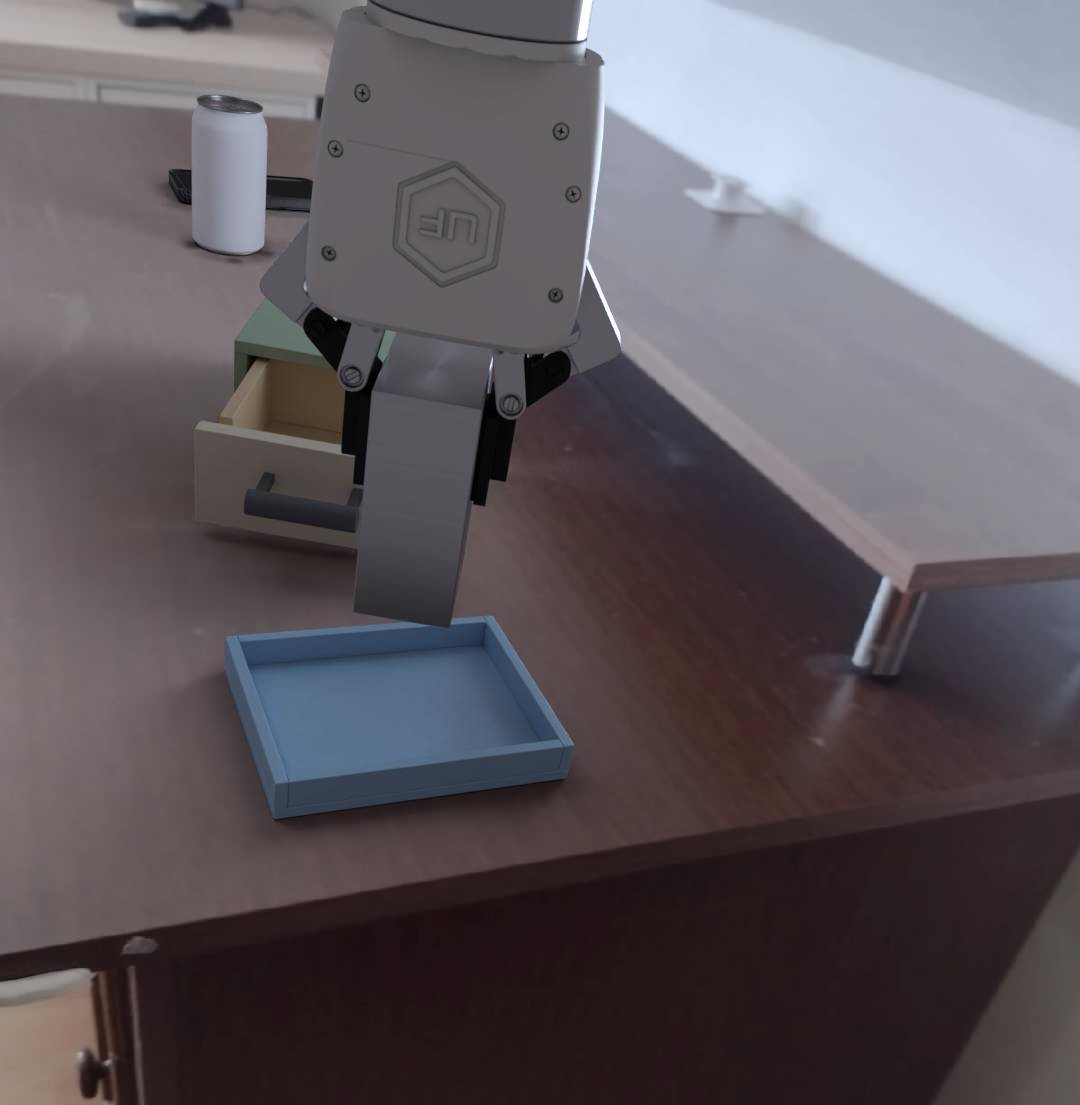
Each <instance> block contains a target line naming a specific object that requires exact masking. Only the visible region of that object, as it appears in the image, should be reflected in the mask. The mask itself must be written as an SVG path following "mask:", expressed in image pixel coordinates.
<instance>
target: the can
mask: <svg viewBox="0 0 1080 1105" xmlns="http://www.w3.org/2000/svg"><path fill="white" fill-rule="evenodd" d="M196 102H197V104H196V107H195V109H194V111H193V113H192V115H191V170H192V203H191V226H192V227H191V233H192V239H193V241H195V243H196V244H197V246H198V247H200V248H202V249H203V250H206V251H208V252H212V253H216V254H220V255H227V256H247V255H248V256H249V255H254V254H257V253H259V252H260V251H261V249H262V248H263V247H264V246H265V236H266V235H265V234H266V233H265V232H266V208H265V206H266V175H267V172H268V171H267V168H268V167H267V165H268V164H267V163H268V125H267V122H266V120H265V118H264V115H263V111H264V107H263V106H262V105H261V104H259V103H258V102H256V101H253V100H250V99H247V98H243V97H238V96H232V95H225V94H204V95H199V96H197V97H196Z"/></svg>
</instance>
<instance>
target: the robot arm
mask: <svg viewBox="0 0 1080 1105" xmlns="http://www.w3.org/2000/svg"><path fill="white" fill-rule="evenodd" d="M594 2H595V1H594V0H366V5H359V6H358V5H357V6H353V7H350V8H348V9H344V10H343V11H342V12H341V15H340V18H339V22H338V26H337V30H336V34H335V37H334V42H333V46H332V50H331V55H330V60H329V66H328V71H327V77H326V82H325V86H324V87H325V88H324V93H323V100H322V107H321V113H320V114H321V115H320V120H319V127H318V128H319V129H318V136H317V144H316V150H315V151H316V152H315V160H314V170H313V179H312V181H313V188H312V198H311V209H310V210H309V218H308V219H307V221H306V222H305V223H304V225H303V226H302V227H301V228H300V229H299V231H297V233H296V235H295V236H294V237H293V238H292V239H291V241H290V242H288V244H287V246H285V248H284V249H283V250H282V252H281V253H280V254H279V255H278V256H277V258H276V259H275V260H274V261H273V262H272V264H271V265H270V266H269V267H268V268H267V270H266V271H265V273H264V274H263V275H262V277H261V279H260V281H259V289H260V292H261V294H262V296H264V298H265V297H266V298H267V299H268V300H269V301H271V302H272V303H273V304H274V305H275V306H276V307H277V308H278V309H280V310H281V311H282V312H283V313H284V314H285V315H286V316H287V317H289V318H290V319H291V320H292V321H293V322H294V323H297V324H298V325H300V326H301V327H302V328H303V329H304V332H305V334H306V336H307V337H308V338H309V339H310V341H311V342H312V343H313V344H314V346H315V347H316V348H317V349H318V350H319V352H320V353H321V354H322V355H323V357H324V358H325V359H326V360H327V361H328V363H329V364H330V365H331V366H332V368H333V369H334V370H335V371H336V372H337V380H338V382H339V384H340V385H341V386H342V387H343V388H344V389H345V401H344V414H343V428H342V442H341V453H342V454H347V455H353V456H355V461H354V474H353V484H357V485H362V486H363V485H364V474H365V462H366V451H367V439H368V428H369V416H370V405H371V393H372V389H373V387H374V385H375V382H376V380H377V377H378V375H379V373H380V370H381V368H382V365H383V362H382V361H381V360H380V359H379V357H378V354H379V351H380V348H381V345H382V342H383V339H384V335H385V332H386V330H388V331H394V332H399V333H404V334H410V335H415V336H421V337H426V338H432V339H437V340H443V341H448V342H454V343H459V344H465V345H471V346H476V347H482V348H488V349H492V357H493V367H492V372H493V381H492V383H491V388H490V391H489V392H490V393H487V397H486V402H485V407H484V412H483V417H482V422H481V429H480V436H479V443H478V449H477V456H476V463H475V470H474V476H473V483H472V490H471V497H470V501H472V506H473V505H474V506H479V507H486V504H487V498H488V492H489V488H490V482H491V480H492V481H495V482H496V481H498V482H502V483H507V479H508V472H509V466H510V460H511V456H512V455H511V454H512V448H513V443H514V436H515V432H516V424H517V419H520V418H521V417H522V416H523V415H524V414H525V412H526V410H527V409H528V408H529V407H530V406H531V405H533V404H535V403H536V402H538V401H540V400H541V399H543V398H544V397H545V396H547V395H549V394H550V393H552V392H553V391H554V390H556V389H557V388H559V387H560V386H562V385H563V384H565V383H566V382H567V381H568V380H569V379H571V378H572V377H574V376H577V375H582V374H584V373H587V372H589V371H591V370H593V369H595V368H598V367H601V366H602V365H605V364H607V363H610V362H612V361H614V360H615V359H617V358H618V357H619V356H620V354H621V350H622V336H621V332H620V330H619V328H618V326H617V323H616V320H615V318H614V316H613V314H612V311H611V309H610V306H609V304H608V302H607V300H606V297H605V295H604V293H603V290H602V288H601V285H600V284H599V281H598V278H597V276H596V274H595V271H594V270H593V267H592V265H591V262H590V260H589V253H590V252H589V251H590V245H591V238H592V233H593V232H592V231H593V225H594V216H595V209H596V202H597V195H598V188H599V179H600V174H601V173H600V172H601V162H602V154H603V153H602V152H603V142H604V129H605V128H604V127H605V108H606V106H605V105H606V68H605V67H606V66H605V61H604V59H603V57H602V56H601V54H600V53H598V52H597V51H594V50H592V49H590V48H588V47H587V44H588V37H589V31H590V25H591V20H592V12H593V7H594ZM575 324H577V326H578V329H577V331H576V332H574V333H573V334H572V332H573V329H574V327H575ZM529 355H530V356H529Z"/></svg>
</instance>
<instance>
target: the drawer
mask: <svg viewBox="0 0 1080 1105" xmlns="http://www.w3.org/2000/svg"><path fill="white" fill-rule="evenodd" d="M344 401H345V389H344V388H343V387H342V386H341V385H340V384H339V382H338V380H337V372H336V371H335V370H331V369H325V368H320V367H314V366H309V365H303V364H298V363H292V362H287V361H281V360H276V359H270V358H265V357H259V356H258V358H257V359H256V361H255V362H254V364H253V365H252V367H251V368H250V370H249V371H248V373H247V374H246V376H245V377H244V379H243V380H242V382H241V384H240V385H239V387H238V388H237V390H236V391H235V393H234V392H233V394H232V396H231V397H230V399H229V400H228V402H227V403H226V405H225V406H224V408H223V410H222V411H221V413H220V414H219V415H218V422H213V421H208V420H207V421H206V420H199V421H198V423H197V424H196V426H195V427H194V432H193V433H194V435H193V436H194V442H193V443H194V522H195V523H196V522H197V523H202V524H209V525H213V526H218V527H219V526H220V527H225V528H230V529H231V528H232V529H236V530H237V529H238V530H241V531H249V532H255V533H260V534H265V535H272V536H279V537H284V538H290V539H296V540H300V541H301V540H302V541H307V542H312V543H318V544H323V545H331V546H336V547H341V548H342V547H343V548H348V549H353V550H358V542H359V531H360V520H361V508H362V497H363V486H362V485H357V484H353V474H354V461H355V456H353V455H347V454H342V453H341V442H342V428H343V414H344Z"/></svg>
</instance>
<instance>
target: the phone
mask: <svg viewBox="0 0 1080 1105" xmlns="http://www.w3.org/2000/svg"><path fill="white" fill-rule="evenodd" d="M168 184H169V186H170V187H171V188H170V189H172V191H173V193H174V195H175V196H176V198H177V200H178V201H179V202H182V203H185V204H192V169H186V168H185V169H183V168H171V169H169V170H168ZM312 188H313V179H310V178H307V177H298V176H283V175H268V174H266V206H265V209H276V210H277V209H278V210H293V211H295V210H296V211H297V210H298V211H310V209H311V198H312Z"/></svg>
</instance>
